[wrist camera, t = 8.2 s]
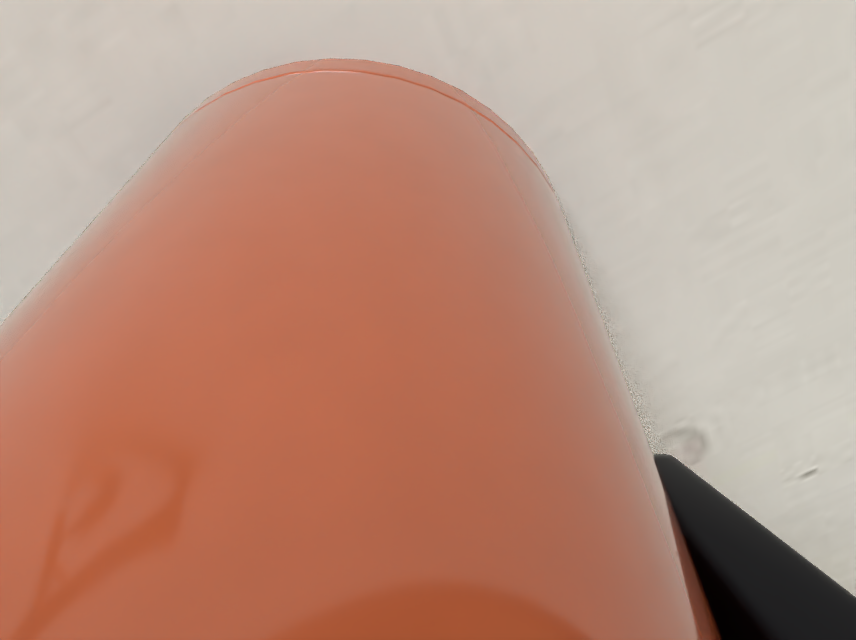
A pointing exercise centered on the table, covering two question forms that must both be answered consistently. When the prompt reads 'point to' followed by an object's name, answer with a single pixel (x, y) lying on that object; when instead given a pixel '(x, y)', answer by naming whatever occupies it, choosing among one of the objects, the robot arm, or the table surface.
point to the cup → (330, 393)
